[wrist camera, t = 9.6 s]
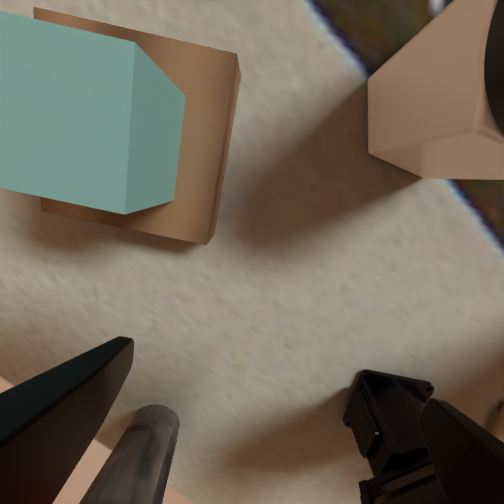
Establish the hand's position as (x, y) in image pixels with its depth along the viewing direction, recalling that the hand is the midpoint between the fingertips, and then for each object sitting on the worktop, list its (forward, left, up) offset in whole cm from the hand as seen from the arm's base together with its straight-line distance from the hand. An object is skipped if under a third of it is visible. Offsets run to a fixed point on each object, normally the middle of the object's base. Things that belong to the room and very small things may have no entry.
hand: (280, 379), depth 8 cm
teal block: (+10, -6, -10) cm, 15 cm away
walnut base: (+10, -6, -13) cm, 17 cm away
